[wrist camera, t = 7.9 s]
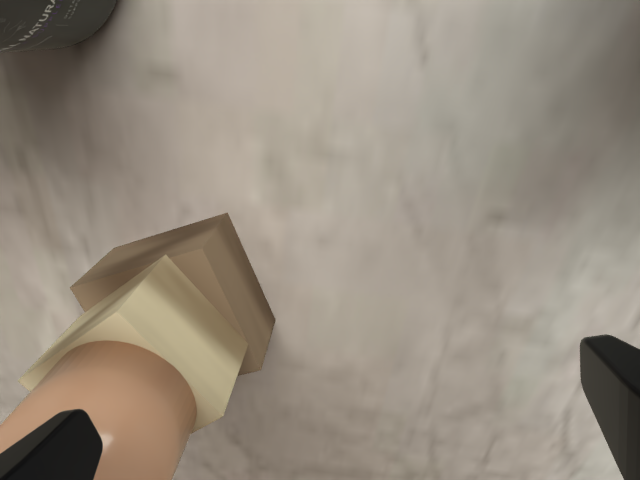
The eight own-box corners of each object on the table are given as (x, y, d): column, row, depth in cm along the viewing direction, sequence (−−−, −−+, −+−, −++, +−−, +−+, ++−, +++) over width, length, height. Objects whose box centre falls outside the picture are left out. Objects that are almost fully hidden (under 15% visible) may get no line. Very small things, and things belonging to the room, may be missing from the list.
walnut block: (228, 210, 21) (202, 248, 18) (276, 317, 24) (261, 370, 20) (116, 246, 23) (69, 287, 19) (171, 344, 25) (139, 398, 21)
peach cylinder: (172, 333, 15) (110, 434, 11) (213, 450, 17) (171, 569, 13) (27, 347, 15) (-76, 447, 12) (83, 457, 17) (10, 572, 14)
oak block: (165, 254, 18) (117, 311, 14) (248, 344, 19) (223, 416, 16) (81, 315, 20) (17, 380, 16) (163, 394, 21) (122, 470, 17)
